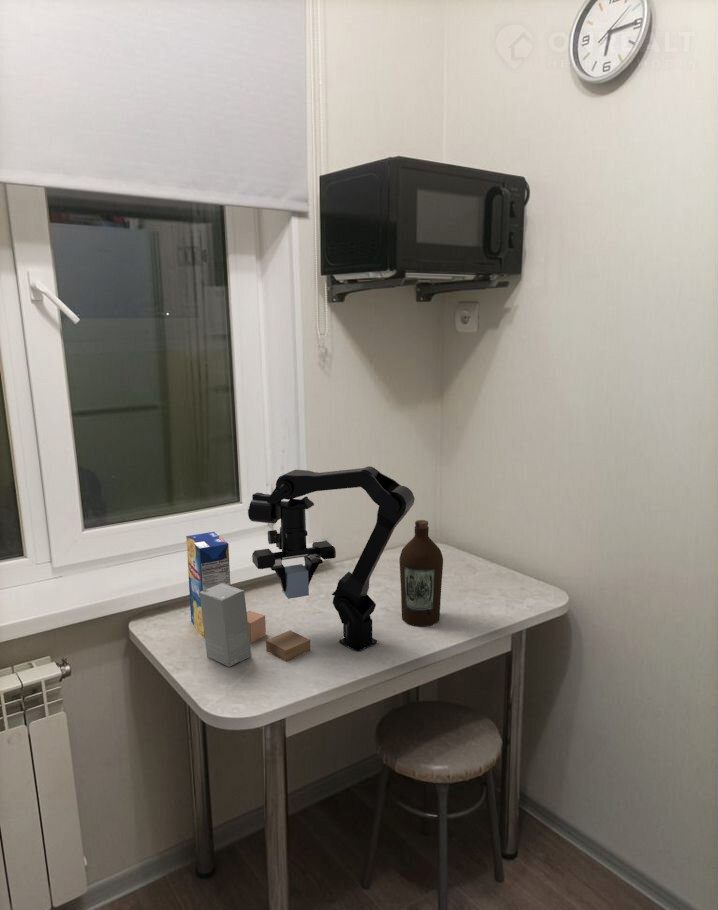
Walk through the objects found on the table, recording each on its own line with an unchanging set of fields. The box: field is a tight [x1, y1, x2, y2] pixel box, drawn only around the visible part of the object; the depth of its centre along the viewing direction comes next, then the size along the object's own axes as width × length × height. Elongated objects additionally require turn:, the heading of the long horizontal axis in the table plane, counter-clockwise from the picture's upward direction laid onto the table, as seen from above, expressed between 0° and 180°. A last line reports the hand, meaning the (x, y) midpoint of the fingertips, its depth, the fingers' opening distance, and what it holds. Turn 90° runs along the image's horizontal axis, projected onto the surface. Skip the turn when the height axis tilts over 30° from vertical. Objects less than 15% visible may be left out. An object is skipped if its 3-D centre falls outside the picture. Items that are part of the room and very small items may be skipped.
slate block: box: [281, 563, 310, 600], centre depth 160 cm, size 5×5×6 cm
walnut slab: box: [265, 630, 311, 662], centre depth 153 cm, size 7×7×3 cm
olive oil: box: [399, 519, 444, 627], centre depth 167 cm, size 11×11×25 cm
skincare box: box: [200, 583, 252, 668], centre depth 149 cm, size 8×7×16 cm
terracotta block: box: [246, 610, 267, 644], centre depth 160 cm, size 5×5×5 cm
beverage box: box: [185, 531, 231, 639], centre depth 164 cm, size 7×11×22 cm, turn 30°
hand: (295, 589), depth 160 cm, fingers closed on slate block, 5 cm apart
